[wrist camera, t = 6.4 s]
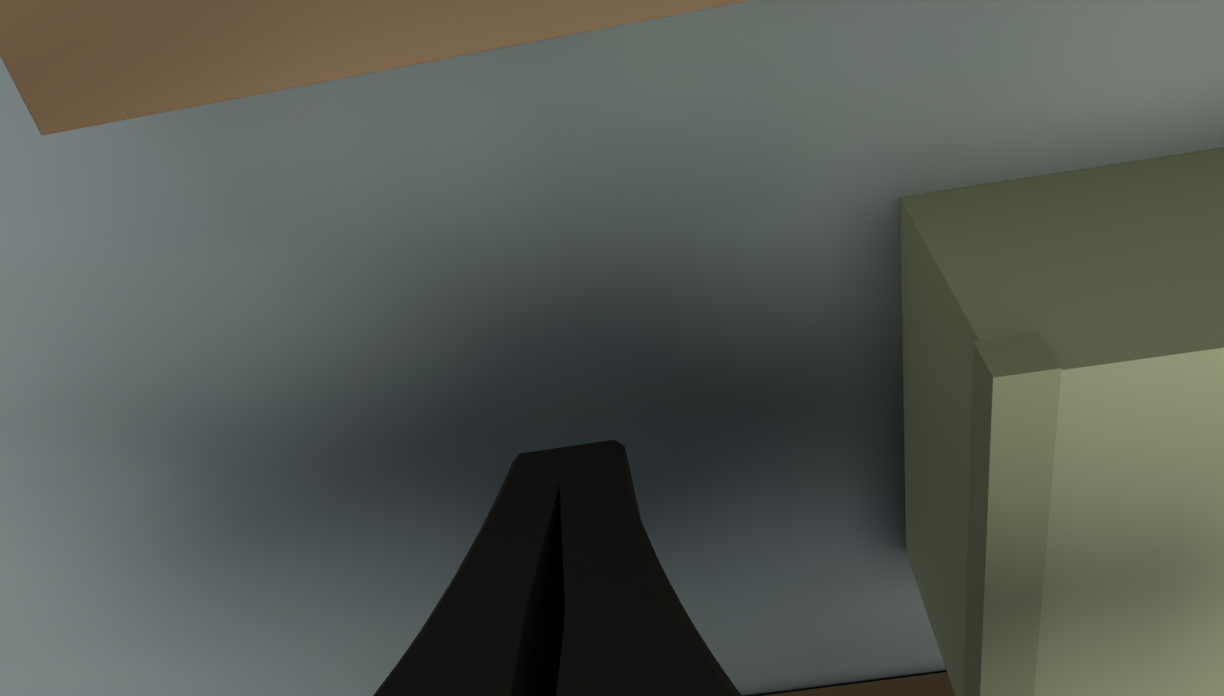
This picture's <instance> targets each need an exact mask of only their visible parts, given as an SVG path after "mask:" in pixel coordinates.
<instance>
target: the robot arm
mask: <svg viewBox="0 0 1224 696" xmlns="http://www.w3.org/2000/svg"><path fill="white" fill-rule="evenodd" d="M373 696H742V695H741V694H740V693H739V691H738V690H737V689H736V688H735V686H734V685H733V683H732V682H731V680H730V679H729V678H728V676H727V675H726V673H725V672H724V670H723V669H722V668H721V666H720V665H719V663H718V662H717V660H716V659H715V658H714V656H713V655H712V653H711V651H710V650H709V648H708V647H707V645H706V644H705V642H704V641H703V639H702V638H701V636H700V634H699V633H698V631H697V630H696V628H695V626H694V625H693V623H692V621H691V620H690V618H689V616H688V615H687V613H686V611H685V609H684V608H683V606H682V604H681V602H680V601H679V599H678V597H677V595H676V593H675V591H674V590H673V588H672V586H671V584H670V582H669V580H668V578H667V577H666V574H665V572H664V570H663V568H662V566H661V564H660V562H659V560H658V558H657V556H656V554H655V552H654V549H653V547H652V545H651V542H650V540H649V538H648V536H647V533H646V531H645V529H644V527H643V524H642V521H641V519H640V514H639V510H638V505H637V500H636V496H635V491H634V487H633V482H632V478H631V473H630V469H629V464H628V459H627V455H626V450H625V446H624V445H622V444H620V443H619V442H617V441H615V440H610V441H603V442H596V443H590V444H583V445H576V446H569V447H562V448H555V449H548V450H541V451H534V452H527V453H521V454H519V455H518V456H517V458H516V459H515V460H514V461H513V463H512V465H511V468H510V470H509V472H508V474H507V477H506V479H505V481H504V483H503V485H502V487H501V490H500V492H499V494H498V496H497V498H496V500H495V502H494V504H493V506H492V508H491V510H490V512H489V514H488V516H487V518H486V520H485V522H484V524H483V526H482V528H481V530H480V532H479V534H478V535H477V537H476V539H475V541H474V543H473V544H472V546H471V548H470V550H469V552H468V553H467V555H466V557H465V559H464V561H463V562H462V564H461V566H460V568H459V570H458V571H457V573H456V575H455V577H454V578H453V580H452V582H451V583H450V585H449V587H448V588H447V590H446V591H445V593H444V595H443V596H442V598H441V599H440V601H439V602H438V604H437V606H436V607H435V609H434V610H433V612H432V614H431V615H430V617H429V618H428V620H427V621H426V623H425V625H424V626H423V628H422V629H421V631H420V632H419V634H418V635H417V637H416V638H415V640H414V641H413V643H412V644H411V645H410V647H409V648H408V650H407V651H406V653H405V654H404V655H403V657H402V658H401V659H400V661H399V662H398V664H397V665H396V666H395V668H394V669H393V670H392V672H391V673H390V674H389V676H388V677H387V678H386V680H385V681H384V682H383V683H382V685H381V686H380V687H379V689H378V690H377V691H376V693H375V694H374V695H373Z"/></svg>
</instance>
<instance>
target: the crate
mask: <svg viewBox="0 0 1224 696" xmlns="http://www.w3.org/2000/svg"><path fill="white" fill-rule="evenodd" d="M900 218H901V277H902V336H903V395H904V454H905V513H906V553H907V556H908V559H909V562H910V564H911V567H912V570H913V573H914V576H915V579H916V582H917V585H918V588H919V591H920V594H921V597H922V600H923V602H924V605H925V608H926V611H927V614H928V617H929V620H930V623H931V626H932V629H933V632H934V635H935V638H936V641H937V643H938V646H939V649H940V652H941V655H942V658H943V661H944V664H945V667H946V670H947V673H948V676H949V679H950V681H951V684H952V687H953V690H954V693H955V696H1224V148H1218V149H1211V150H1205V151H1198V152H1192V153H1185V154H1179V155H1172V156H1166V157H1159V158H1153V159H1146V160H1140V161H1133V162H1127V163H1120V164H1114V165H1107V166H1101V167H1094V168H1088V169H1081V170H1075V171H1068V172H1062V173H1055V174H1049V175H1042V176H1036V177H1029V178H1022V179H1016V180H1009V181H1003V182H996V183H990V184H983V185H977V186H970V187H964V188H957V189H951V190H944V191H938V192H931V193H925V194H918V195H912V196H905V197H900Z"/></svg>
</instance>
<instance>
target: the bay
mask: <svg viewBox="0 0 1224 696" xmlns="http://www.w3.org/2000/svg"><path fill="white" fill-rule="evenodd" d="M743 1H749V0H0V56H1V58H2V60H3V62H4V64H5V66H6V68H7V70H8V72H9V74H10V75H11V77H12V79H13V81H14V83H15V85H16V87H17V89H18V91H19V93H20V95H21V97H22V99H23V101H24V102H25V104H26V106H27V108H28V110H29V112H30V114H31V116H32V118H33V120H34V122H35V124H36V126H37V128H38V129H39V131H40V133H41V135H47V134H52V133H58V132H63V131H68V130H73V129H78V128H84V127H89V126H94V125H99V124H105V123H110V122H115V121H120V120H126V119H131V118H136V117H141V116H147V115H152V114H157V113H162V112H167V111H173V110H178V109H183V108H188V107H194V106H199V105H204V104H209V103H215V102H220V101H225V100H230V99H236V98H241V97H246V96H251V95H256V94H262V93H267V92H272V91H277V90H283V89H288V88H293V87H298V86H304V85H309V84H314V83H319V82H325V81H330V80H335V79H340V78H345V77H351V76H356V75H361V74H366V73H372V72H377V71H382V70H387V69H393V68H398V67H403V66H408V65H414V64H419V63H424V62H429V61H434V60H440V59H445V58H450V57H455V56H461V55H466V54H471V53H476V52H482V51H487V50H492V49H497V48H503V47H508V46H513V45H518V44H523V43H529V42H534V41H539V40H544V39H550V38H555V37H560V36H565V35H571V34H576V33H581V32H586V31H592V30H597V29H602V28H607V27H612V26H618V25H623V24H628V23H633V22H639V21H644V20H649V19H654V18H660V17H665V16H670V15H675V14H681V13H686V12H691V11H696V10H701V9H707V8H712V7H717V6H722V5H728V4H733V3H738V2H743ZM763 696H955V693H954V690H953V687H952V684H951V681H950V679H949V676H948V673H947V672H943V673H935V674H927V675H919V676H911V677H904V678H896V679H888V680H880V681H872V682H864V683H857V684H849V685H841V686H833V687H825V688H817V689H810V690H802V691H794V692H786V693H778V694H770V695H763Z"/></svg>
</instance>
